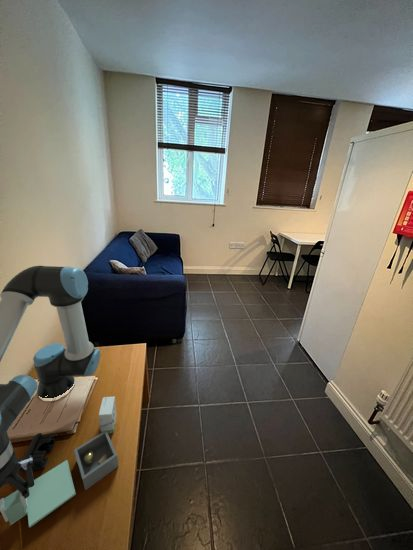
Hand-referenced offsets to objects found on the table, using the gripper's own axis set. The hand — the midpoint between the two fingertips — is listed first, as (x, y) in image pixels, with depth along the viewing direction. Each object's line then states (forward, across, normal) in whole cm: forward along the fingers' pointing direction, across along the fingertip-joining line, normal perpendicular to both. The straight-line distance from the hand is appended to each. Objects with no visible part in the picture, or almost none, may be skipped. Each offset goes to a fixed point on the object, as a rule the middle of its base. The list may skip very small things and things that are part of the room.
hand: (16, 509), depth 66 cm
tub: (+5, +22, 0) cm, 23 cm away
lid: (+2, +6, 0) cm, 7 cm away
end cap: (+5, +7, +15) cm, 17 cm away
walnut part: (+4, +24, -2) cm, 24 cm away
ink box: (+5, +30, +12) cm, 33 cm away
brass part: (+4, +20, +2) cm, 21 cm away
